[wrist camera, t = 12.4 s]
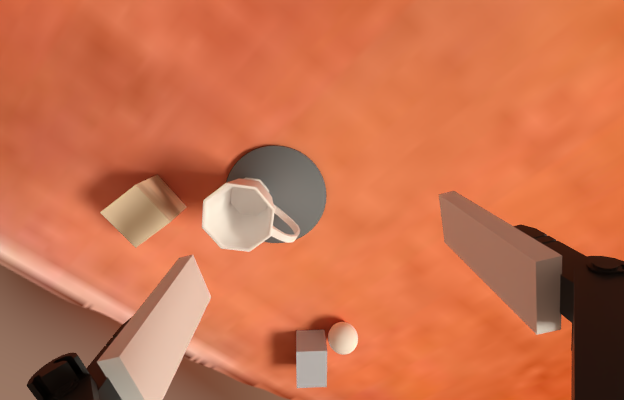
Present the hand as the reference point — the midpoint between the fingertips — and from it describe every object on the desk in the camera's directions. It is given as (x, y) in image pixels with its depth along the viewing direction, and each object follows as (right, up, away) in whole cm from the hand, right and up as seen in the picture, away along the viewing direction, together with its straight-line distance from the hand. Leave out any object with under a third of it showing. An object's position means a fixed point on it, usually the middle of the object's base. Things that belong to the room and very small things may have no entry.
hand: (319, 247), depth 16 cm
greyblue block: (-1, -19, +27) cm, 33 cm away
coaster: (-5, +3, +20) cm, 21 cm away
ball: (+4, -15, +26) cm, 31 cm away
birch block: (-19, +2, +20) cm, 28 cm away
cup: (-6, +2, +20) cm, 21 cm away
